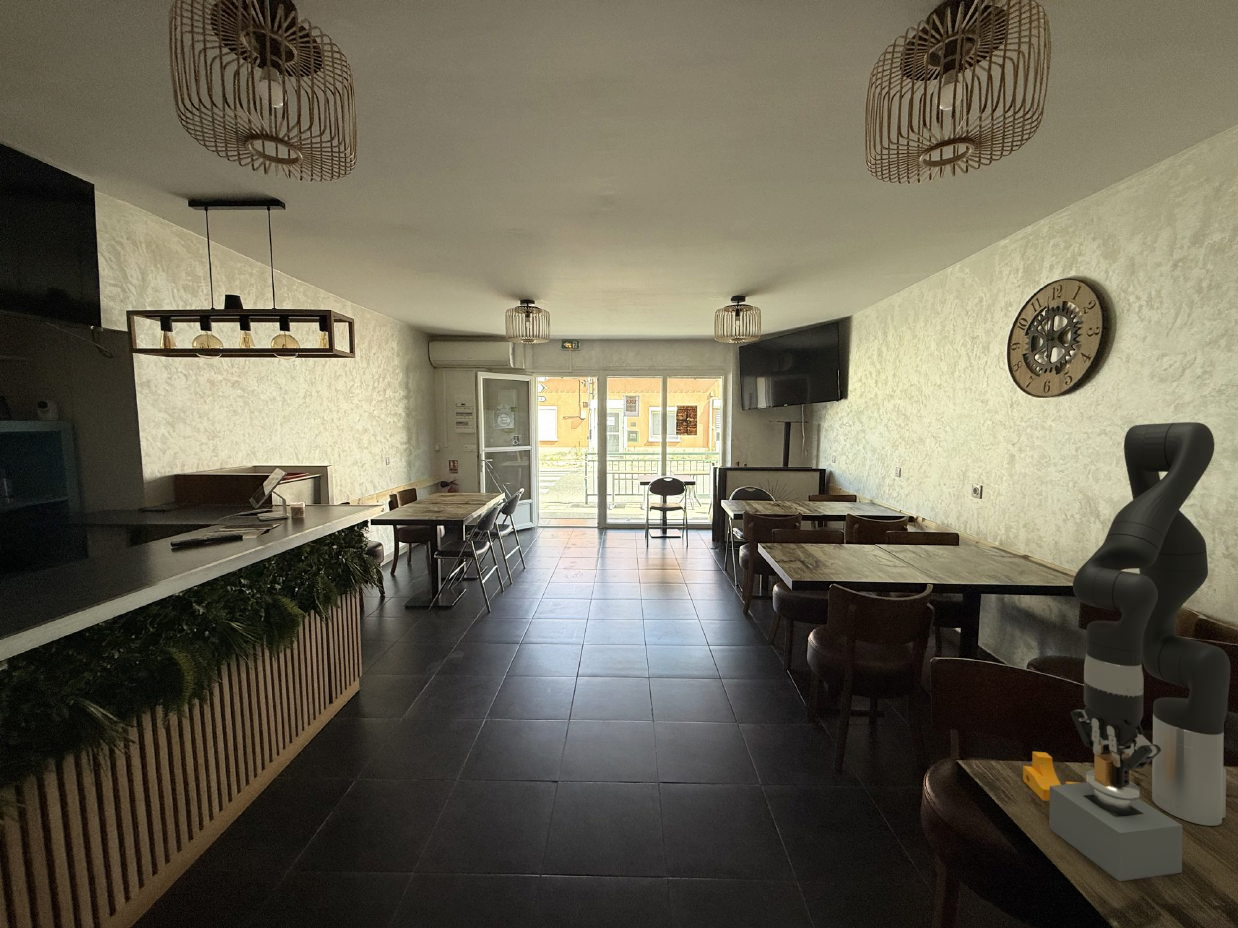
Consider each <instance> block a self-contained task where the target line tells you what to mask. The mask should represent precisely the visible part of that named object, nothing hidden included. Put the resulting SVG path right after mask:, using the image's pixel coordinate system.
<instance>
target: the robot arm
mask: <svg viewBox="0 0 1238 928" xmlns="http://www.w3.org/2000/svg"><path fill="white" fill-rule="evenodd" d="M1214 452H1215V437H1214V435H1213V433H1212V431H1211V429H1210V428H1209V426H1207V425H1206V424H1204V423H1202V422H1198V421H1197V422H1194V421H1193V422H1192V421H1190V422H1187V421H1186V422H1185V421H1183V422H1180V421H1179V422H1165V423H1161V422H1160V423H1147V424H1137V425H1132V426H1131V427H1130V428H1129V429H1128V430H1127V431H1126V434H1125V436H1124V440H1123V453H1124V460H1125V461H1124V462H1125V467H1126V473H1127V476H1128V480H1129V481H1128V482H1129V485H1130V491H1131V496H1132V500H1131V501H1129V502H1128V503H1127V504H1126V505H1124V506H1123V507H1122V508H1121V509H1120V510H1119V511H1118V512H1117V514H1116V515H1115V517H1114V518H1113V521H1112V523H1111V525H1110V527H1109V529H1108V532H1107V534H1106V537H1105V539H1104V541H1103V543H1102V544H1101V546H1099V548H1098V549H1096V551H1095V552H1094V553H1093V554H1092V555H1091V556H1090V557H1089V558H1088V559H1087V560H1086V561H1085V562H1084V563H1083V564H1082V566H1081V567H1080V568H1079V569H1078V570H1077V572H1076V574H1075V575H1074V577H1073V581H1072V589H1073V593H1074V596H1075V597H1076V599H1077V600H1078V601H1080V602H1081V603H1082V604H1085V605H1088V606H1090V607H1094V608H1099V609H1105V610H1108V611H1113V612H1118V613H1121V616H1120V617H1121V618H1120V619H1119V621H1113V620H1094V621H1091V622H1089V623H1088V624H1087V626H1086V631H1085V632H1086V633H1085V635H1086V636H1085V637H1086V638H1085V645H1086V646H1085V653H1086V654H1085V658H1084V659H1085V660H1084V666H1083V703H1084V705H1085V707H1084V709H1075V710H1071V711H1070V716H1071V718H1072V720H1073V723H1074V725H1075V727H1076V729H1077V731H1078V734H1079V737H1080V739H1081V741H1082V743H1083V745H1084V746H1085V747H1087V748H1090V749H1091V750H1092V752H1093V754H1094V756H1095V755H1098V754H1108V753H1112V761H1113V764H1114V765H1112V784H1113V785H1114V786H1116V787H1117V788H1119V787H1126V785H1129V781H1131V770H1141V769H1144V768H1145V767H1146V766H1147V765H1148V764H1149V763H1150V762H1152V768H1151V769H1152V771H1151V773H1152V777H1151V781H1152V782H1151V785H1152V786H1151V787H1152V789H1151V800H1152V802H1153V803H1154V804H1155V805H1156V806H1157V807H1159V808H1160V809H1161V810H1163V811H1165V812H1166V813H1168V814H1170V815H1172V816H1174V817H1176V818H1179V819H1181V820H1184V821H1186V822H1190V823H1192V824H1197V825H1202V826H1207V827H1208V826H1210V827H1211V826H1212V827H1215V826H1220V825H1221V824H1222V823H1223V818H1224V819H1225V818H1226V807H1227V806H1226V799H1227V798H1226V796H1227V795H1226V794H1227V792H1226V791H1227V769H1226V767H1224V733H1225V732H1224V731H1225V726H1224V725H1225V721H1226V718H1227V713H1228V706H1229V705H1228V704H1229V703H1228V701H1229V691H1230V683H1231V671H1232V670H1231V662H1230V658H1229V656H1228V654H1227V652H1225V650H1224V649H1222V648H1221V647H1218V646H1216V645H1212V644H1210V643H1207V642H1206V643H1205V642H1201V641H1198V640H1195V639H1189V638H1187V637H1184V636H1183V637H1182V636H1179V635H1178V634H1177V632H1176V631H1177V630H1176V620H1177V616H1178V612H1179V611H1180V609H1181V608H1182V607H1183V605H1184V604H1185V603H1186V602H1187V601H1189V600H1190V598H1191V597H1192V596H1193V595H1194V594H1195V593H1196V592H1197V591H1198V590H1199V589H1200V588H1201V587H1202V586H1203V584H1204V583H1205V581H1206V580H1207V579H1208V577H1209V575H1208V574H1209V565H1208V563H1209V561H1208V551H1207V543H1206V539H1205V538H1204V536H1203V535H1202V533H1201V531H1200V530H1199V529H1198V528H1197V527H1196V526H1195V524H1194V523H1193V522H1192V521H1191V520H1190V519H1189V518H1188V517H1187V516H1186V515H1185V514H1184V513H1183V512H1182V511H1181V510H1180V509H1181V508H1182V506H1183V505H1184V503H1185V502H1186V500H1187V499H1188V498H1189V496H1190V495H1191V493H1192V492H1193V490H1194V489H1195V487H1196V485H1197V484H1198V483H1199V481H1200V480H1201V478H1202V477H1203V476H1204V474H1205V472H1206V471H1207V469H1208V468H1209V466H1210V464H1211V462H1212V459H1213V456H1214ZM1160 473H1165V475H1164V476H1163V477H1162V478H1161V476H1160ZM1133 569H1138V570H1139V573H1138V572H1131V571H1124V570H1133ZM1142 665H1143V666H1142ZM1143 667H1144V669H1145V671H1146V672H1147V673H1148V674H1149V675H1150V676H1152V677H1153V678H1156V679H1158V680H1162V681H1164V682H1167V683H1170V684H1173V685H1176V686H1179V687H1182V688H1185V689H1188V690H1189V693H1188V694H1189V695H1188V697H1187V698H1186V697H1185V698H1182V697H1172V696H1171V697H1170V696H1165V697H1159V698H1157V699H1155V700H1154V701H1153V705H1152V706H1153V707H1152V708H1153V709H1152V712H1153V713H1152V743H1151V742H1150V741H1149V740H1148V739H1147V738H1146V737H1145V736H1144V731H1143V728H1142V726H1141V721H1142V719H1143V717H1144V672H1143ZM1135 743H1136V744H1135ZM1134 744H1135V745H1134ZM1129 777H1130V778H1129Z"/></svg>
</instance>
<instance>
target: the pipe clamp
mask: <svg viewBox="0 0 1238 928" xmlns="http://www.w3.org/2000/svg"><path fill="white" fill-rule="evenodd" d="M1031 761H1032V762H1031V763H1032V764H1031V765H1032V766H1031V765H1029V766H1028V765H1023V766H1022V767H1023V768H1022V769H1023V770H1022V774H1023V775H1022V780H1023V782H1024V783H1025V784H1026V785H1027V786H1029V788H1030V789H1031V790H1032V791H1033V792H1034V793H1035V794H1036V795H1037V796H1038V797H1039V798H1040V799H1041V800H1042V801H1044V802H1045V801H1046V802H1049V799H1050V786H1055V785H1062V784H1061V781H1060V780H1059V779H1058V776H1057V774H1056V772H1055V767H1054V764H1053V757H1052V756H1051V755H1050V754H1049V753H1047V752H1043V751H1032V760H1031ZM1041 763H1043V764H1041ZM1073 783H1080V781H1079V782H1077V781H1075V782H1074V781H1065V784H1073Z"/></svg>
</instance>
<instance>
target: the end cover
mask: <svg viewBox="0 0 1238 928" xmlns="http://www.w3.org/2000/svg"><path fill="white" fill-rule="evenodd" d="M1093 759H1094V763H1093V764H1094V765H1093V766H1094V769H1090V770H1088V771H1086V773H1085V782H1087V783H1088V784H1089V785H1090V786H1091V787H1092V788H1094V801H1095V803H1096V804H1097V805H1099V806H1100V807H1102V808H1103V809H1105V810H1107V811H1110V812H1113V813H1116V814H1122V815H1126V814H1129V813H1130V801H1132V800H1137V799H1139V800H1140V795H1141V793H1140V788H1139V786H1138V785H1137V784H1135V783H1134V782H1133V781H1131V780H1130V781H1129V785H1126V787H1119V788H1117V787H1116V786H1114V785H1113V784H1112V765H1114V764H1113V761H1112V753H1108V754H1098V755H1095V754H1094V758H1093ZM1129 778H1130V779H1131V776H1130V777H1129Z"/></svg>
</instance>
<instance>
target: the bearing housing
mask: <svg viewBox="0 0 1238 928" xmlns="http://www.w3.org/2000/svg"><path fill="white" fill-rule="evenodd" d="M1048 803H1049V812H1048V813H1049V818H1048V819H1049V824H1048V829H1049V830H1051V831H1052V832H1053V833H1054V834H1056V835H1057V836H1059V837H1060V838H1061V839H1063V840H1064V841H1065V842H1067V843H1068V844H1069V845H1070V846H1072V847H1073V848H1074V849H1076V850H1077V851H1078V852H1080V854H1082V855H1083V856H1085V857H1086V858H1087V859H1089V860H1090V861H1092V862H1093V863H1094V864H1095V865H1097V866H1098V867H1099V868H1100V869H1102V870H1104V871H1105V872H1106V873H1107V874H1109V875H1110V876H1111V877H1113V878H1114V879H1115V880H1116V881H1118V882H1125V881H1130V880H1131V881H1132V880H1138V879H1140V880H1141V879H1147V878H1153V877H1154V878H1155V877H1161V876H1168V875H1176V874H1181V873H1183V839H1184V838H1183V837H1184V835H1183V833H1184V831H1183V829H1184V828H1183V824H1181V823H1180V822H1178V821H1177V820H1174V819H1173V818H1172V817H1169V816H1168V815H1166V814H1164V813H1163V812H1161V811H1159V810H1158V809H1156V808H1154V807H1153V806H1151V805H1150V804H1148V803H1146V802H1144V801H1143V800H1141V799H1140V798H1139V799H1137V800H1132V801H1130V813H1129V814H1126V815H1122V814H1116V813H1113V812H1110V811H1107V810H1105V809H1103V808H1102V807H1100V806H1099V805H1097V804H1096V803H1095V801H1094V788H1092V787H1091V786H1090V785H1089V784H1088V783H1087V782H1086V781H1084V782H1083V781H1082V782H1079V783H1073V784H1066V783H1065V784H1061V785H1055V786H1050V799H1049V801H1048Z"/></svg>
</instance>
